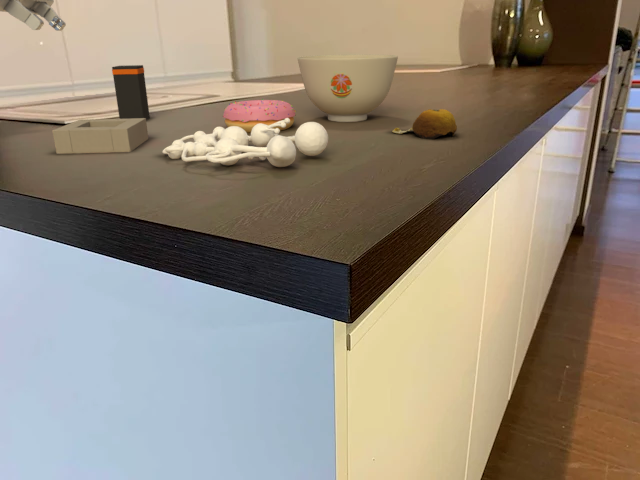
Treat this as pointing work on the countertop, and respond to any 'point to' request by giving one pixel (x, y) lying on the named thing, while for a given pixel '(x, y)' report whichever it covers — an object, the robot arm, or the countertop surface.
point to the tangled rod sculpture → (235, 141)
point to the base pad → (100, 135)
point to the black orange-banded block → (131, 91)
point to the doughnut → (258, 113)
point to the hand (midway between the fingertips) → (51, 27)
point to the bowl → (347, 83)
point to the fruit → (432, 124)
